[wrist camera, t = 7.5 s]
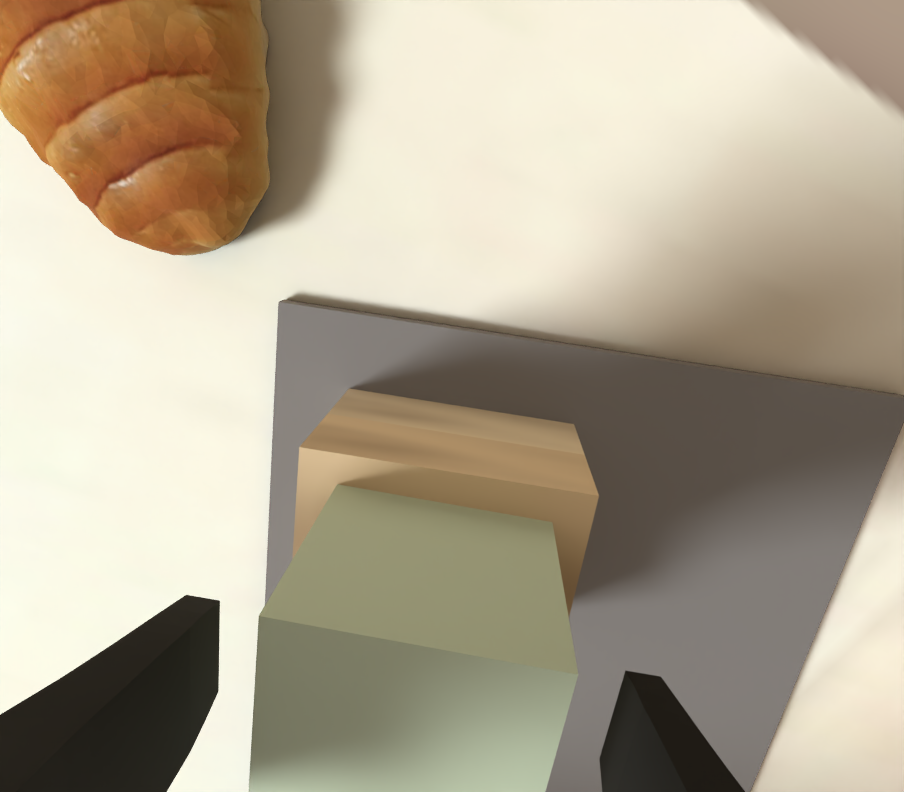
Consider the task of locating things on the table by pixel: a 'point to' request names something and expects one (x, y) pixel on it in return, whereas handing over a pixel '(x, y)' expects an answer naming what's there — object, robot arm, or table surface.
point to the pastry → (145, 110)
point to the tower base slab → (459, 420)
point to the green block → (413, 653)
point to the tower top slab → (450, 478)
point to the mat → (637, 504)
